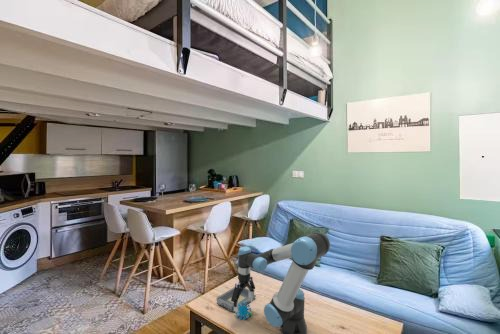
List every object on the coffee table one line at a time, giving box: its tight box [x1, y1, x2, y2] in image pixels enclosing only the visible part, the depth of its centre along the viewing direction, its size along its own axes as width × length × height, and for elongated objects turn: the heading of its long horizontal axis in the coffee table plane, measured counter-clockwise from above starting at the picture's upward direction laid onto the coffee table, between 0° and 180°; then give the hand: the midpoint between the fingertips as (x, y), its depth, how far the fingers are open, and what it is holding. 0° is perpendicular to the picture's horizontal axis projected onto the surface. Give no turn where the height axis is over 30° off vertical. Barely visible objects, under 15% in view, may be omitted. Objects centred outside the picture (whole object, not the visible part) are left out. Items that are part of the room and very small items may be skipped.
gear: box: [234, 302, 253, 321], centre depth 155 cm, size 11×6×10 cm
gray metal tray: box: [216, 286, 257, 314], centre depth 171 cm, size 17×23×4 cm
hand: (243, 306), depth 154 cm, fingers open, 13 cm apart
